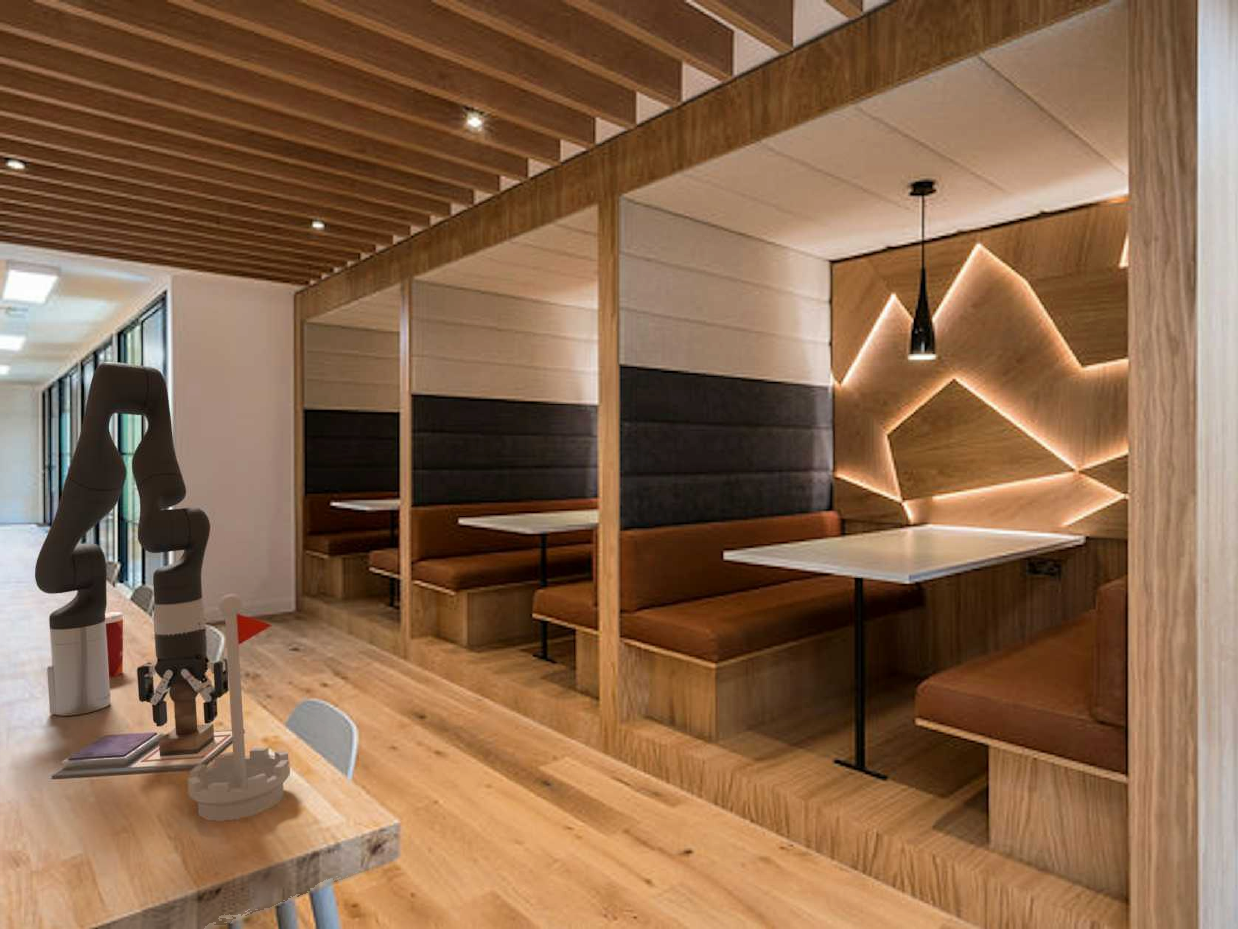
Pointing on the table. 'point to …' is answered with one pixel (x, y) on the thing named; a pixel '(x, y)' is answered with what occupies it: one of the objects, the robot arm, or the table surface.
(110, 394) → the robot arm
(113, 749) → the ink pad
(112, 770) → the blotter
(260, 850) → the table surface
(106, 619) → the paper cup
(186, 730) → the stamp
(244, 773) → the flag stand
